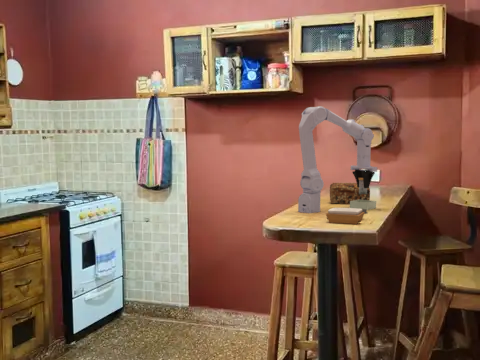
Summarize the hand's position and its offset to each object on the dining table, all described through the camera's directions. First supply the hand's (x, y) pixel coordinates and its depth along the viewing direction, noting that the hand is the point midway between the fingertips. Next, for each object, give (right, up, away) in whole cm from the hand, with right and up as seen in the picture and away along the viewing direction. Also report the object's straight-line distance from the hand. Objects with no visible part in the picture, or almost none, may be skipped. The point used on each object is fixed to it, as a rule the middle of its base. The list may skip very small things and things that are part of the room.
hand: (363, 187), depth 241 cm
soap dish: (-14, -13, -31) cm, 36 cm away
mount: (-6, -11, -12) cm, 18 cm away
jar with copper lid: (0, -3, 0) cm, 3 cm away
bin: (0, -10, +1) cm, 10 cm away
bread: (-1, -8, +28) cm, 29 cm away
